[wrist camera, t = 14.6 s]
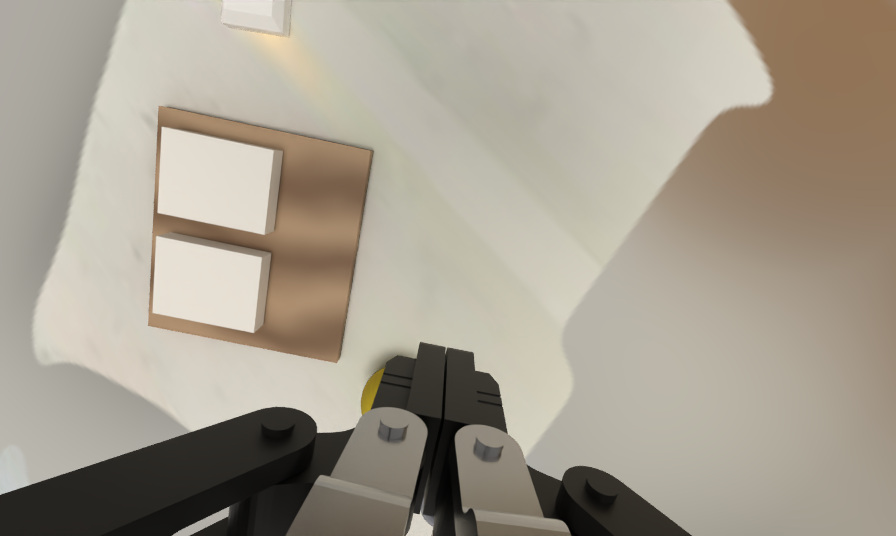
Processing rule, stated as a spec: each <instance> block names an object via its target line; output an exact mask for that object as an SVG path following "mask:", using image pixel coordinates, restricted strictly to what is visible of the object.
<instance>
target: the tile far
mask: <svg viewBox="0 0 896 536" xmlns="http://www.w3.org/2000/svg"><path fill="white" fill-rule="evenodd" d="M270 261H271V253H270V252H265V251H260V250H255V249H251V248H246V247H241V246H236V245H231V244H226V243H221V242H216V241H211V240H206V239H202V238H197V237H192V236H187V235H182V234H177V233H172V232H170V233H166V234H162V235H158V236H156V250H155V270H154V290H153V310H152V313H155V314H160V315H166V316H171V317H176V318H181V319H186V320H191V321H196V322H201V323H206V324H211V325H216V326H221V327H226V328H231V329H236V330H241V331H246V332H251V333H254V332H256V331H257V330H258V329H259V328H260V327H261V326H263V323H264V314H265V305H266V296H267V287H268V279H269V270H270Z"/></svg>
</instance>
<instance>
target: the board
mask: <svg viewBox="0 0 896 536" xmlns="http://www.w3.org/2000/svg"><path fill="white" fill-rule="evenodd" d="M162 127H169V128H178V129H182V130H187V131H192V132H197V133H201V134H206V135H211V136H215V137H220V138H225V139H230V140H234V141H239V142H244V143H249V144H253V145H258V146H263V147H268V148H272V149H277V150H282V151H283V157H282V165H281V174H280V183H279V192H278V200H277V209H276V218H275V227H274V231H273V232H270V233H268V234H265V235H263V234H258V233H253V232H248V231H244V230H239V229H234V228H229V227H224V226H219V225H214V224H209V223H205V222H200V221H195V220H190V219H185V218H180V217H175V216H170V215H166V214H161V213H157V212H158V192H159V172H160V152H161V131H162ZM372 156H373V151H371V150H366V149H362V148H357V147H352V146H347V145H343V144H338V143H333V142H329V141H324V140H319V139H314V138H310V137H305V136H300V135H296V134H291V133H286V132H282V131H277V130H272V129H267V128H263V127H258V126H253V125H249V124H244V123H239V122H234V121H230V120H225V119H220V118H216V117H211V116H206V115H201V114H197V113H192V112H187V111H183V110H178V109H173V108H169V107H163V106H159V111H158V132H157V153H156V174H155V195H154V216H153V237H152V258H151V279H150V300H149V321H148V326H152V327H157V328H162V329H167V330H172V331H177V332H182V333H187V334H192V335H198V336H203V337H208V338H213V339H218V340H223V341H228V342H233V343H238V344H243V345H248V346H253V347H258V348H263V349H268V350H273V351H278V352H284V353H289V354H294V355H299V356H304V357H309V358H314V359H319V360H324V361H329V362H334V363H337V362H338V360H339V358H340V354H341V348H342V342H343V336H344V330H345V323H346V317H347V311H348V305H349V299H350V292H351V286H352V280H353V274H354V267H355V261H356V255H357V249H358V243H359V236H360V230H361V224H362V218H363V212H364V205H365V199H366V193H367V187H368V180H369V174H370V168H371V162H372ZM170 232H172V233H177V234H182V235H187V236H192V237H197V238H202V239H206V240H211V241H216V242H221V243H226V244H231V245H236V246H241V247H246V248H251V249H255V250H260V251H265V252H270V253H271V261H270V270H269V279H268V287H267V296H266V305H265V314H264V323H263V326H261V327H260V328H259V329H258V330H257V331H256V332H254V333H251V332H246V331H241V330H236V329H231V328H226V327H221V326H216V325H211V324H206V323H201V322H196V321H191V320H186V319H181V318H176V317H171V316H166V315H160V314H155V313H152V310H153V290H154V270H155V250H156V236H158V235H162V234H166V233H170Z"/></svg>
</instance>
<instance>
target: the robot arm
mask: <svg viewBox="0 0 896 536" xmlns="http://www.w3.org/2000/svg"><path fill="white" fill-rule="evenodd" d="M445 349H446V347H443V346H438V345H433V344H428V343H423V342H420V344H419V349H418V354H417V359H413V358H408V357H403V356H398V355H397V356H396V357H394V358H393V359H391V360H390V361H388V362H387V363H386V366H385V369H384V372H383V375H382V378H381V381H380V384H379V387H378V390H377V392H376V395H375V398H374V401H373V404H372V407H371V410H370V411H368V412H366V413H365V414H363V415H362V417H361V418H360V420H359V422H358V423H357V425H356V427H355V428H353V429H350V430H347V431H342V432H333V433H317V426H316V423H315V421H314V420H313V419H312V418H311V417H310V416H309V415H308V414H306V413H304V412H302V411H300V410H297V409H293V408H286V407H271V408H265V409H261V410H257V411H254V412H251V413H248V414H245V415H242V416H239V417H236V418H233V419H230V420H227V421H224V422H221V423H218V424H215V425H212V426H209V427H206V428H203V429H200V430H197V431H194V432H190V433H187V434H184V435H181V436H178V437H175V438H172V439H169V440H166V441H163V442H161V443H157V444H154V445H151V446H148V447H145V448H142V449H139V450H136V451H133V452H130V453H127V454H124V455H120V456H117V457H114V458H111V459H108V460H105V461H102V462H99V463H96V464H93V465H90V466H87V467H84V468H81V469H78V470H75V471H72V472H69V473H66V474H63V475H60V476H57V477H54V478H50V479H47V480H44V481H41V482H38V483H35V484H32V485H29V486H26V487H23V488H20V489H17V490H14V491H11V492H8V493H5V494H2V495H0V536H172V535H173V534H175V533H176V532H178V531H179V530H181V529H183V528H185V527H187V526H189V525H192V524H194V523H196V522H197V521H200V520H202V519H204V518H206V517H208V516H210V515H212V514H214V513H216V512H219V511H221V510H222V509H225V508H227V507H229V506H230V508H229V516H228V517H226V518H224V519H222V520H220V521H218V522H216V523H214V524H212V525H210V526H208V527H207V528H204V529H202V530H200V531H198V532H196V533H194V534H192V535H190V536H406V534H407V533H408V531H409V529H410V525H411V521H412V516H413V513H416V514H420V510H421V505H422V501H423V496H424V505H423V515H427V516H433V517H434V527H433V531H432V535H431V536H692V535H690V534H689V533H687V532H686V531H685V530H683V529H682V528H681V527H680V526H678V525H677V524H676V523H675V522H673V521H672V520H670V519H669V518H668V517H667V516H665V515H664V514H663V513H661V512H660V511H659V510H657V509H656V508H655V507H654V506H652V505H651V504H650V503H648V502H647V501H646V500H644V499H643V498H642V497H640V496H639V495H638V494H636V493H635V492H634V491H632V490H631V489H630V488H629V487H627V486H626V485H625V484H623V483H622V482H621V481H619V480H618V479H616V478H615V477H613V476H612V475H610V474H608V473H606V472H604V471H601V470H598V469H595V468H592V467H586V466H575V467H572V468H569V469H568V470H567V471H566V472H565V473H564V476H563V479H562V481H560V480H557V479H555V478H553V477H550V476H548V475H546V474H543V473H541V472H539V471H537V470H535V469H533V468H531V467H530V466H528V465H527V464H526V462H525V459H524V456H523V452H522V450H521V448H520V446H519V444H518V443H517V442H516V441H515V440H514V439H513V438H512V437H511V436H510V435H508V433H507V428H506V422H505V417H504V412H503V407H502V401H501V398H500V396H501V395H500V390H499V385H498V383H497V382H496V381H495V380H494V379H493V377H492V376H491V375H490V374H489V373H484V372H479V371H475V365H474V354H473V352H468V351H463V350H458V349H453V348H447V350H446V354H445ZM424 492H425V495H424Z"/></svg>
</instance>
